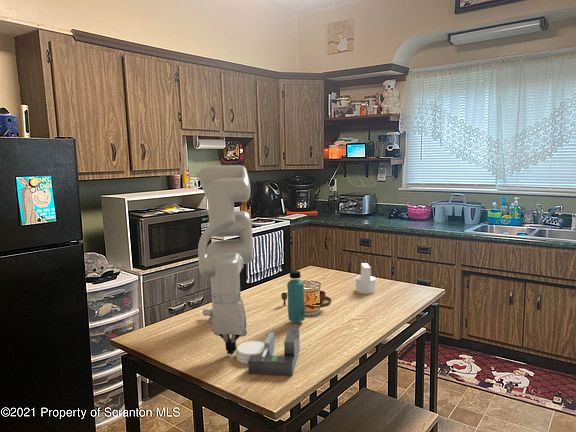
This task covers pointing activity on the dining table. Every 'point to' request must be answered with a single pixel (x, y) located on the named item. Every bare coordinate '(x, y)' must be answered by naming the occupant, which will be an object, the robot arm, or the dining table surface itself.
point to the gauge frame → (278, 358)
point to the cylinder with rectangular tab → (365, 280)
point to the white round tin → (249, 350)
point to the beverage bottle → (296, 298)
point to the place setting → (322, 298)
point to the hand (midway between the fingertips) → (231, 352)
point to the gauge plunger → (269, 345)
